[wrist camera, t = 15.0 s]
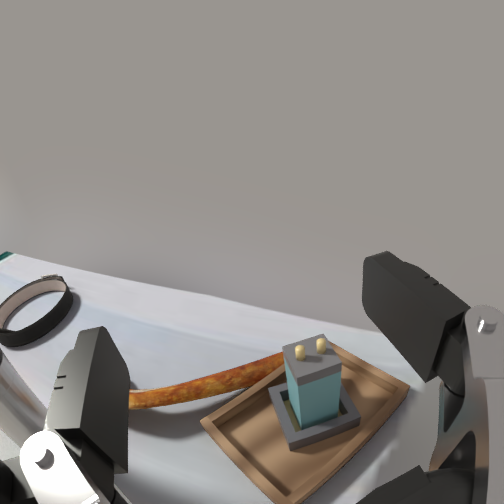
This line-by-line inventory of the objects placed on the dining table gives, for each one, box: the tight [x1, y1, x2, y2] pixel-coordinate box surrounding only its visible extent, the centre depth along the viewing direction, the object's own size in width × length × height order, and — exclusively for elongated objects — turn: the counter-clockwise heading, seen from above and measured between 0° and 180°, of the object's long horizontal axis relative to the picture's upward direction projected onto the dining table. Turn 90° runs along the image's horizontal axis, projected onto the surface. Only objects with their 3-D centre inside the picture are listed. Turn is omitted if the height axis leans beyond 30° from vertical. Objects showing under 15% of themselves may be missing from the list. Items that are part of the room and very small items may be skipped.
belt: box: [0, 274, 73, 347], centre depth 70 cm, size 29×30×5 cm
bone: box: [129, 352, 284, 409], centre depth 42 cm, size 33×8×10 cm, turn 96°
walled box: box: [200, 341, 410, 504], centre depth 36 cm, size 17×23×2 cm
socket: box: [268, 383, 361, 451], centre depth 36 cm, size 10×10×2 cm
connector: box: [282, 334, 342, 430], centre depth 34 cm, size 5×5×14 cm
